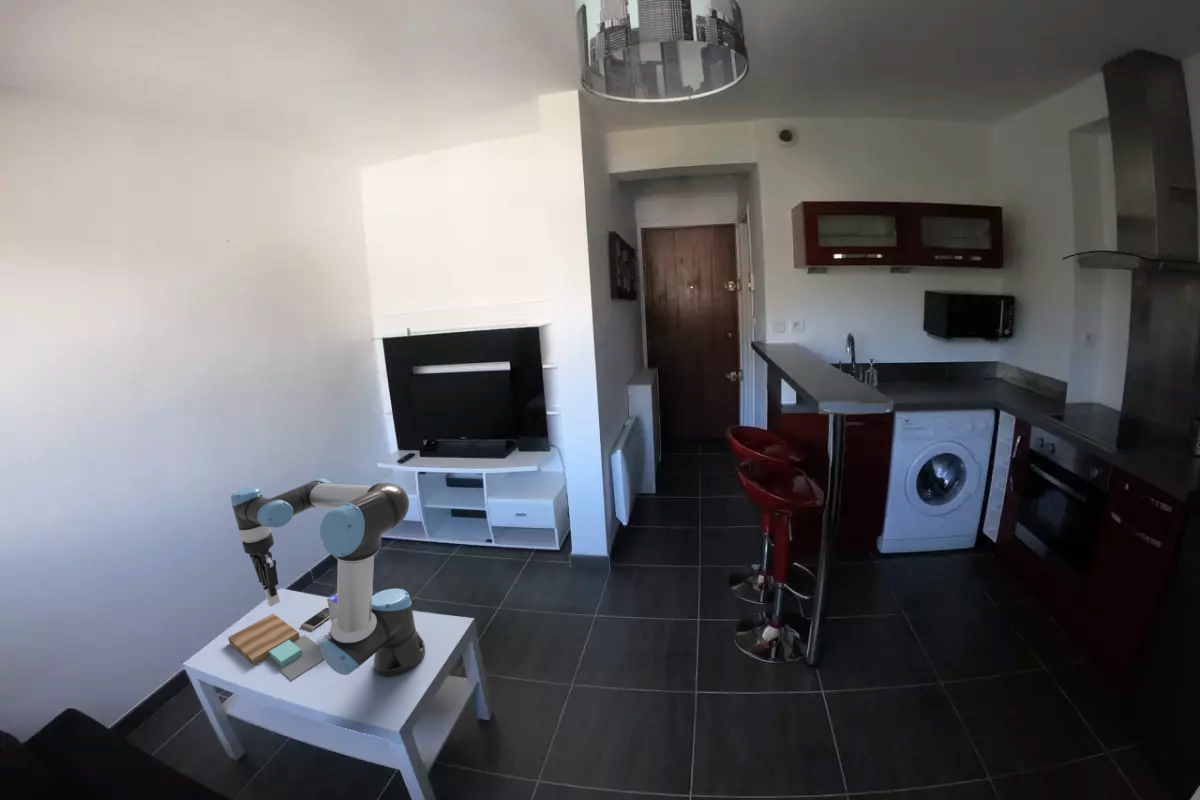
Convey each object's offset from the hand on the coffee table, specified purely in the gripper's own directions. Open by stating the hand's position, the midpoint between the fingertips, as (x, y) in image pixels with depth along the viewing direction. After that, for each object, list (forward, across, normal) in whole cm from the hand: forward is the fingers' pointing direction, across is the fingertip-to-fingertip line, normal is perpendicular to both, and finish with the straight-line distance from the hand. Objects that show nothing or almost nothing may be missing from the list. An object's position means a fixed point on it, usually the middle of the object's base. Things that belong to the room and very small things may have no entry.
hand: (274, 603), depth 149 cm
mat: (+20, -3, -2) cm, 21 cm away
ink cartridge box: (+21, -4, -18) cm, 28 cm away
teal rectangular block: (+20, +1, 0) cm, 20 cm away
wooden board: (+20, +16, +1) cm, 26 cm away
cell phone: (+21, +10, -15) cm, 28 cm away
